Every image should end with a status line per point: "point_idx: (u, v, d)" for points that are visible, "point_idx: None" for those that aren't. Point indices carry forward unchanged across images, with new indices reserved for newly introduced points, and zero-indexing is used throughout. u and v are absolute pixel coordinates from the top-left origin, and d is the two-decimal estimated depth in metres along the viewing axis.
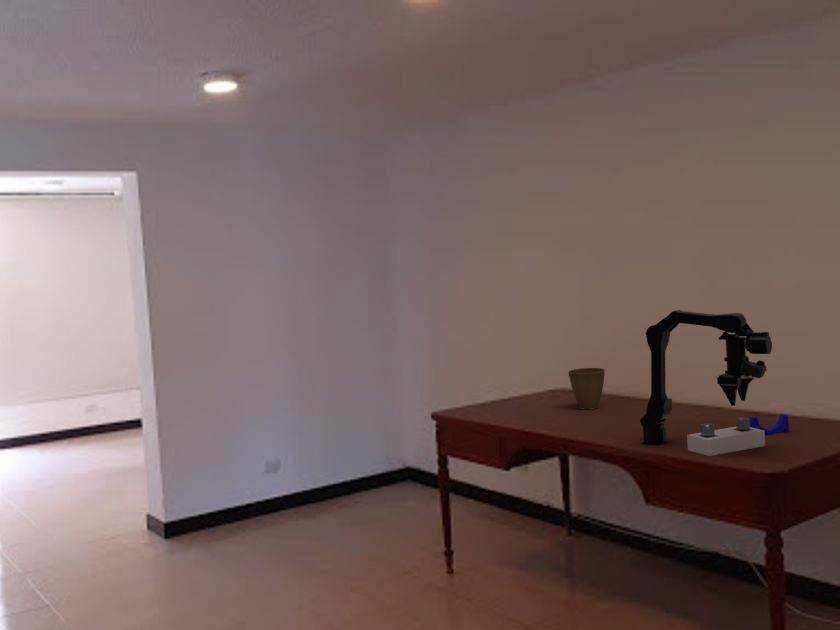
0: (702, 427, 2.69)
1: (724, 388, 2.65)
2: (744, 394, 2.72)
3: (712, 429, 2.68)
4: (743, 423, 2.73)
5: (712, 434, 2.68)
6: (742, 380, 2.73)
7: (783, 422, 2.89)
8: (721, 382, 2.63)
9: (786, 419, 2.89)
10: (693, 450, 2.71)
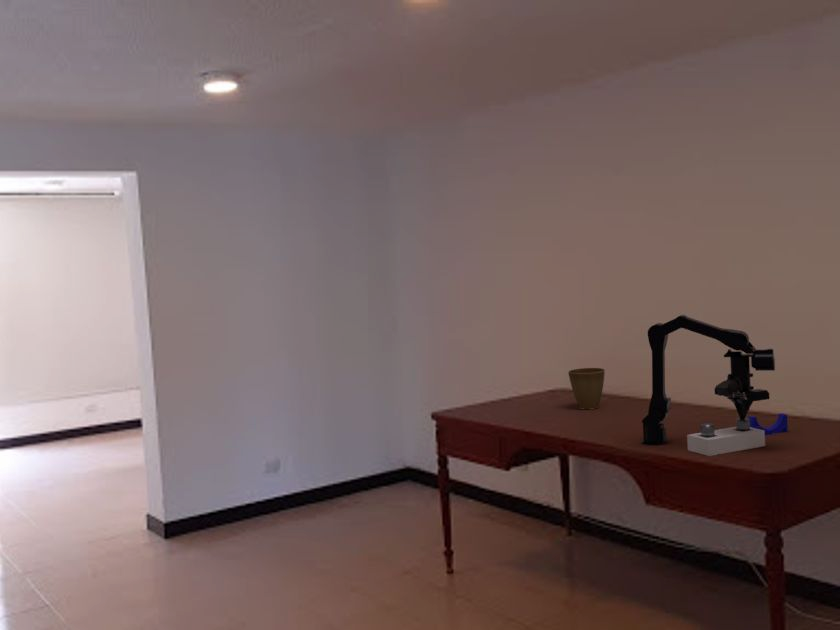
0: (702, 427, 2.69)
1: None
2: None
3: (712, 429, 2.68)
4: (743, 423, 2.73)
5: (712, 434, 2.68)
6: None
7: (782, 422, 2.89)
8: None
9: (785, 419, 2.89)
10: (693, 450, 2.71)
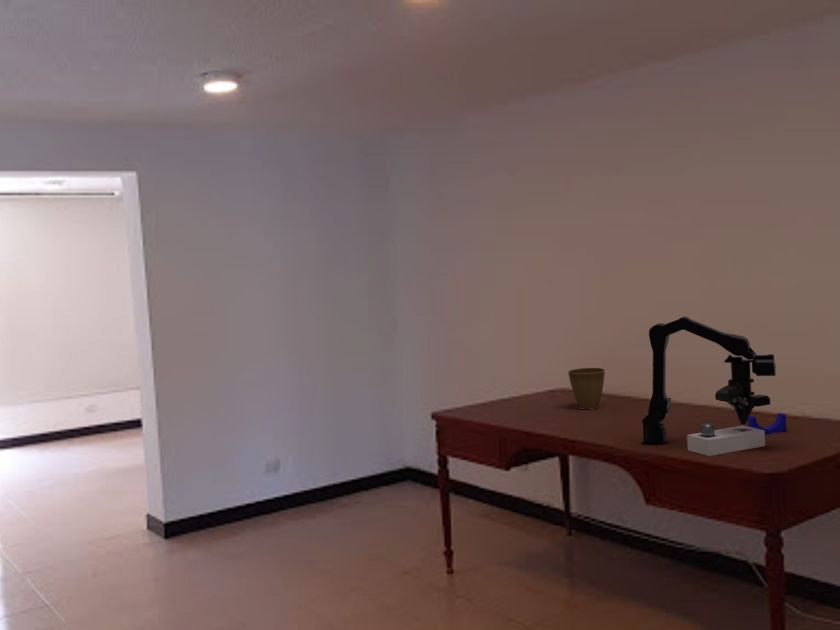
0: (702, 427, 2.69)
1: None
2: None
3: (712, 429, 2.68)
4: None
5: (712, 434, 2.68)
6: None
7: (781, 421, 2.90)
8: None
9: (784, 418, 2.90)
10: (693, 450, 2.71)
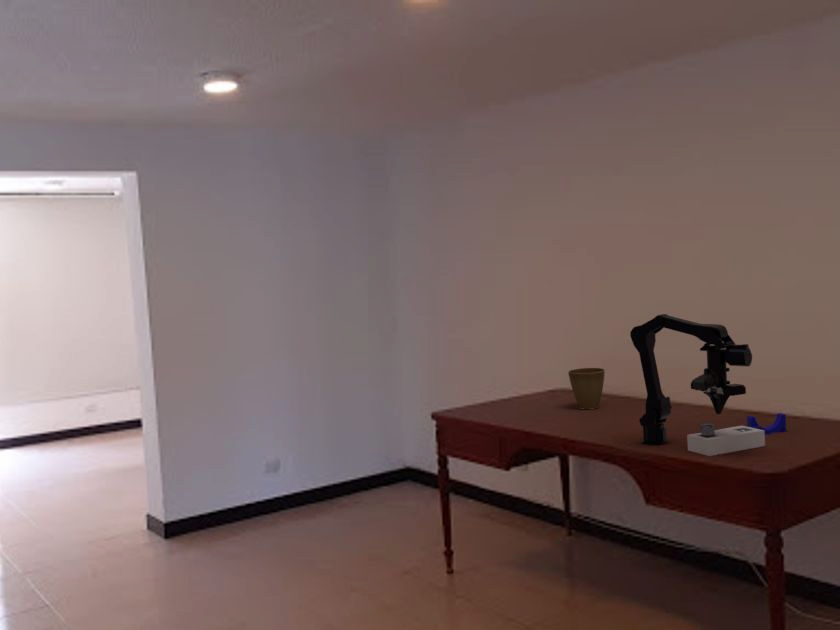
0: (702, 427, 2.69)
1: None
2: None
3: (712, 429, 2.68)
4: None
5: (712, 434, 2.68)
6: None
7: (780, 421, 2.90)
8: None
9: (783, 418, 2.90)
10: (693, 450, 2.71)
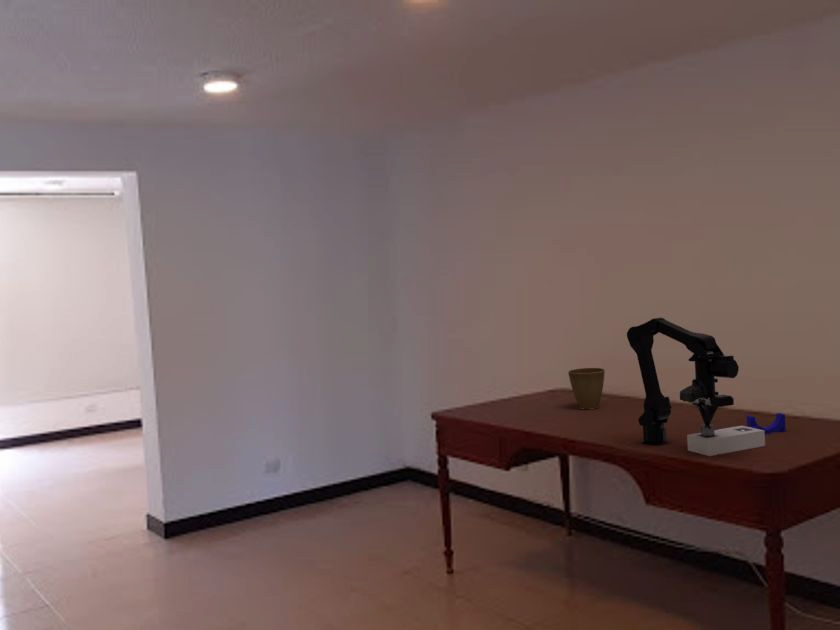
0: (702, 427, 2.69)
1: None
2: None
3: (712, 430, 2.68)
4: None
5: (712, 434, 2.68)
6: None
7: (780, 421, 2.90)
8: None
9: (783, 418, 2.90)
10: (693, 450, 2.71)
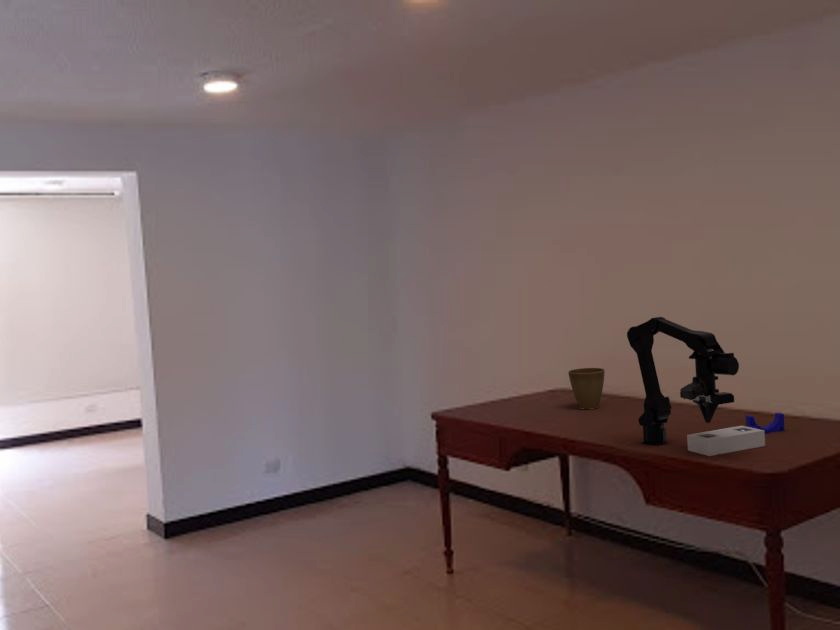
0: None
1: None
2: None
3: None
4: None
5: None
6: None
7: (779, 421, 2.91)
8: None
9: (782, 418, 2.91)
10: (693, 450, 2.71)
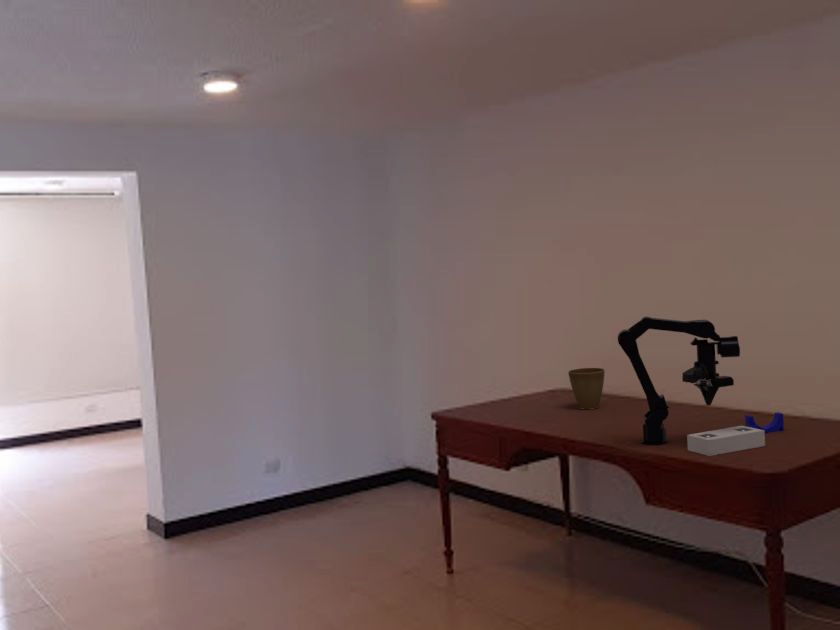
0: None
1: None
2: None
3: None
4: None
5: None
6: None
7: (778, 421, 2.91)
8: None
9: (781, 418, 2.91)
10: (693, 450, 2.71)
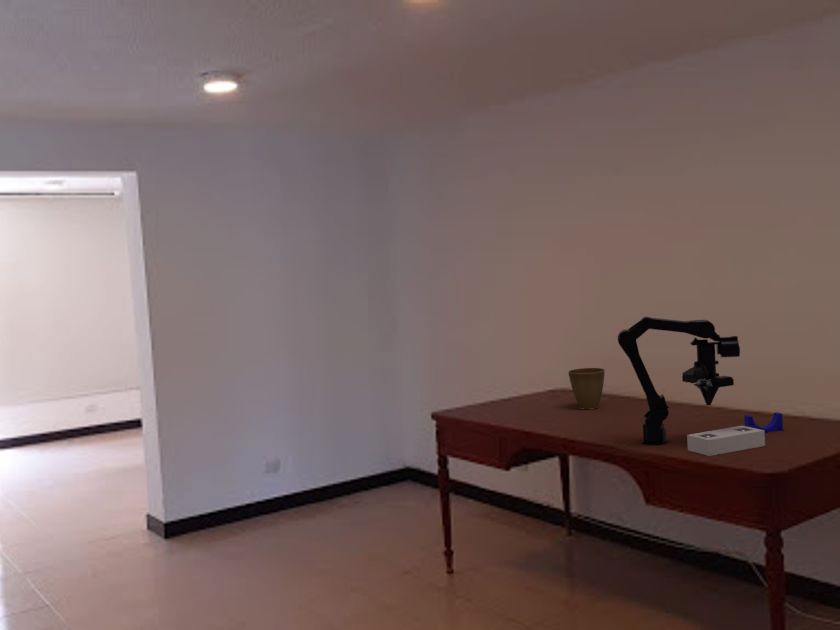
0: None
1: None
2: None
3: None
4: None
5: None
6: None
7: (777, 421, 2.92)
8: None
9: (780, 418, 2.92)
10: (693, 450, 2.71)
